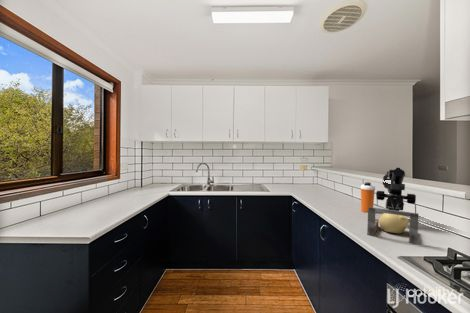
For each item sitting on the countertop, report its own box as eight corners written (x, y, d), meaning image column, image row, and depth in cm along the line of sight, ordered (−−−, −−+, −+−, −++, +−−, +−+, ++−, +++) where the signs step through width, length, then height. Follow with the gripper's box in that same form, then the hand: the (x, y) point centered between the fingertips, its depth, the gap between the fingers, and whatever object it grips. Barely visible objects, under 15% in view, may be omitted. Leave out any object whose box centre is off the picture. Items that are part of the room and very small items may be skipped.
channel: (372, 225, 138) (373, 201, 138) (416, 232, 127) (417, 206, 127) (367, 234, 122) (368, 207, 122) (417, 244, 111) (418, 214, 110)
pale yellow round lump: (412, 235, 122) (413, 214, 122) (388, 235, 122) (389, 213, 122) (396, 228, 134) (397, 208, 133) (374, 228, 133) (375, 208, 133)
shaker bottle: (373, 210, 173) (374, 182, 173) (374, 213, 165) (375, 183, 165) (359, 209, 177) (360, 181, 176) (359, 212, 169) (360, 182, 168)
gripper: (377, 177, 146) (374, 198, 137) (416, 179, 135) (416, 203, 126) (378, 188, 152) (375, 209, 144) (415, 192, 142) (415, 215, 133)
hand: (394, 209), depth 136 cm, fingers closed
